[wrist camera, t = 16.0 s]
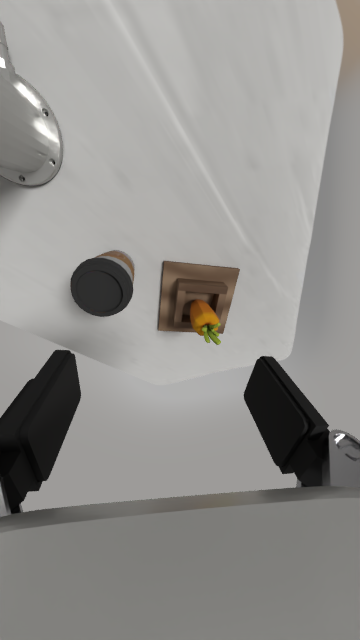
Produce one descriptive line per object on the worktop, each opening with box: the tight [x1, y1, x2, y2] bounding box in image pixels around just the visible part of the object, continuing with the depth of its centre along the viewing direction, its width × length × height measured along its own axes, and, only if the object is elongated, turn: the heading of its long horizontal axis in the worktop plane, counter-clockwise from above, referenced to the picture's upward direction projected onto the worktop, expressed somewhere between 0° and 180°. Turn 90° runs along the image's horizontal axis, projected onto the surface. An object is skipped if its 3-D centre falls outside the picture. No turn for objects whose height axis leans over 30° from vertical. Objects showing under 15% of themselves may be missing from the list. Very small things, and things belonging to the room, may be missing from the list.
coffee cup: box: [71, 250, 134, 317], centre depth 33 cm, size 8×8×15 cm
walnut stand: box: [158, 261, 240, 334], centre depth 43 cm, size 16×16×4 cm
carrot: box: [190, 299, 221, 345], centre depth 37 cm, size 5×5×15 cm
